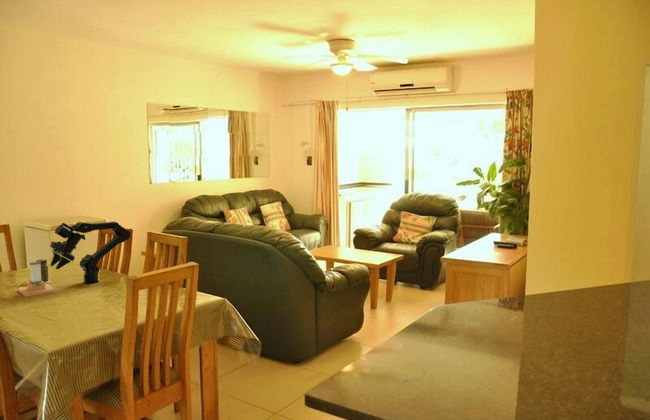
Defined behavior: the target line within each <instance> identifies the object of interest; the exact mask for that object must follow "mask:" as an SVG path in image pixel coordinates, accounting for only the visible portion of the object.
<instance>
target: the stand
mask: <svg viewBox="0 0 650 420" xmlns="http://www.w3.org/2000/svg"><path fill="white" fill-rule="evenodd" d="M17 291H18V293H20V295H22V296H23V297H24V298H26V297H27V298H28V297H33V296H39V295H44V294H51V293H52V294H53V293H56V288H54V286H51V285H50V284H48V283H45V282H43V281H42V282H36V283H32V282H31V281H27V286H24V287H19V288H17Z"/></svg>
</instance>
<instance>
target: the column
mask: <svg viewBox="0 0 650 420" xmlns="http://www.w3.org/2000/svg"><path fill="white" fill-rule="evenodd" d="M29 275H30V281H29V282H32V283H36V282H42V280H41V262H40V261H39V262H36V261H33V262H29Z"/></svg>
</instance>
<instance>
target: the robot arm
mask: <svg viewBox="0 0 650 420" xmlns="http://www.w3.org/2000/svg"><path fill="white" fill-rule="evenodd" d="M99 230H112V231H113V233H114V235H113V236H112V239H110V240H109V241H107V243H105V244H104V245H102V247H100V248H98V249H97V251H95V252H94V253H93V254H88V253H87V254H86V255H85V256H84V257H81V260H80V261H79V266H80V268H81V269H82V271H83V272H84V273H83V283H85V284H87V285H90V284H97V283H99V282H100V280H99V272H100V267H99V266H98V263H99V261H100V260H101V259H103V257H105V256H106V255H108V254H109V252H111V251H112V250H114V248H116V247H117V246H118V245H120V244H122V243H125V242H126V241H128V240H130V238H131V236H132V234H131V232H130V230H128V229H126V228H124V227H123V226H122V225H120V223H119V222H117V221H105V222H91V223H90V222H86V221H85V222H84V221H78V222H76V223H75V224H74V225H71V226H69V225H68V224H67V223H65V222H62V223H61V224H60V225H58V226H57V227H56V228H55V230H54V234H56V235H57V236H59V237H61V238H63V239H66V240H63V241H62V242H61V241H54V240H52V241H51V242H50V245H49V247H50V248H51V250H52V259H51V262H50V263H49V264H50V266H51V267H54V266H55V265H56V266H55V270H60V269H61V268H63V267H64V266H66V265H68V264H69V263H71V262H74V260H75V259H76V258H75V255H74V254H72V252H73V251H74V250H76V249H77V245H78V244H79V243H80V241H81V240H84V241H85V240H86V235H85V234H87V233H88V234H89V233H91V232H94V231H99Z"/></svg>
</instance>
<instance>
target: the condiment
mask: <svg viewBox="0 0 650 420" xmlns="http://www.w3.org/2000/svg"><path fill="white" fill-rule="evenodd" d="M39 261H40V262H41V280H42V281H43V282H45V284H48V283H52V280H50V279H49V265H48V260H47V259H37V260H36V261H35V262H39Z"/></svg>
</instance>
